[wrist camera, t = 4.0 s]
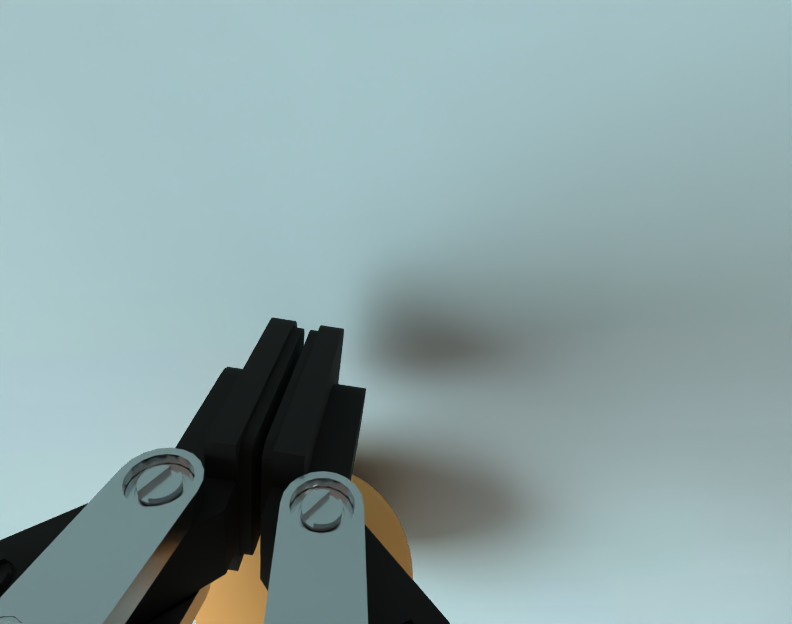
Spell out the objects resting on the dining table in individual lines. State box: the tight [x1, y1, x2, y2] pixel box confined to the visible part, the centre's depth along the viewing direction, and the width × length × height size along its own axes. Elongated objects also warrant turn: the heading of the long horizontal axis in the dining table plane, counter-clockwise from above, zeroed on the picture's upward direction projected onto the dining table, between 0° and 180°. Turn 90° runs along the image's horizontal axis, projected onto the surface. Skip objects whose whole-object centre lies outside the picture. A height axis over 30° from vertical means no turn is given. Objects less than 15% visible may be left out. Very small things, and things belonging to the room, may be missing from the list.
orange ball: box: [195, 474, 413, 624], centre depth 14 cm, size 6×6×6 cm
